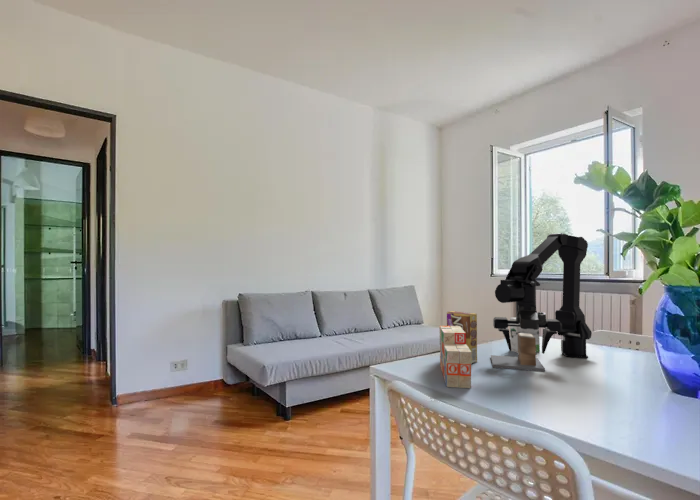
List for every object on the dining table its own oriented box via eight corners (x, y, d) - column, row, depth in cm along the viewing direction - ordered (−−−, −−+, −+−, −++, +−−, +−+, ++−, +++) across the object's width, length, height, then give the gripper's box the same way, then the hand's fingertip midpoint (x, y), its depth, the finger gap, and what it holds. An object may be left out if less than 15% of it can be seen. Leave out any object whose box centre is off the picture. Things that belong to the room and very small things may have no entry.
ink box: (531, 349, 137) (531, 316, 137) (540, 352, 132) (540, 318, 133) (509, 350, 136) (509, 316, 136) (517, 353, 131) (517, 318, 131)
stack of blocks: (472, 389, 95) (471, 339, 95) (446, 387, 96) (445, 338, 96) (460, 365, 116) (460, 325, 117) (439, 364, 117) (439, 324, 118)
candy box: (478, 361, 120) (477, 313, 120) (470, 364, 117) (469, 314, 118) (454, 356, 127) (453, 310, 127) (446, 358, 124) (445, 311, 125)
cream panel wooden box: (531, 359, 119) (531, 333, 119) (535, 365, 113) (535, 338, 113) (518, 358, 120) (517, 332, 121) (521, 364, 114) (520, 337, 114)
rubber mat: (537, 360, 121) (537, 358, 121) (544, 371, 110) (544, 368, 110) (490, 357, 125) (490, 355, 125) (493, 367, 114) (493, 364, 114)
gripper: (495, 303, 112) (495, 356, 112) (566, 305, 106) (567, 361, 106) (492, 299, 123) (493, 348, 122) (557, 301, 117) (558, 352, 117)
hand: (526, 352), depth 117 cm, fingers open, 9 cm apart
